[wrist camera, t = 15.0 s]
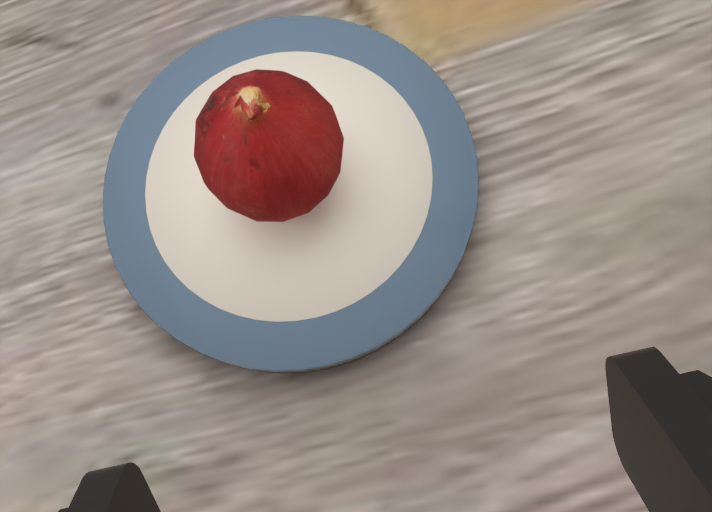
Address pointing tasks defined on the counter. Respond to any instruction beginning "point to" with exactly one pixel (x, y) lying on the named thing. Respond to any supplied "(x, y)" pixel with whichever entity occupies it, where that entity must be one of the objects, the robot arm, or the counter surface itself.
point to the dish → (303, 233)
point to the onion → (268, 145)
